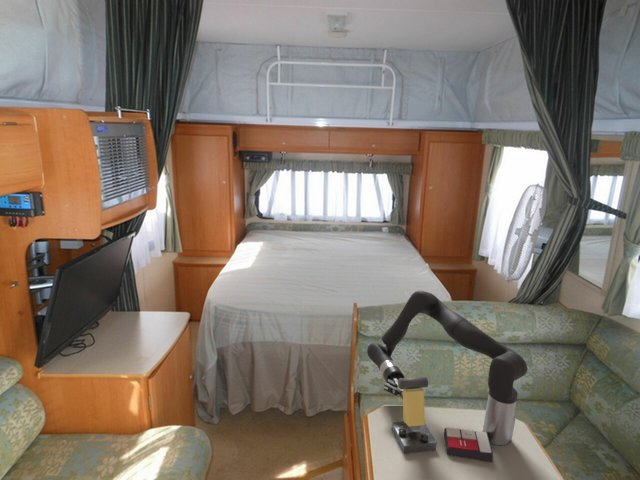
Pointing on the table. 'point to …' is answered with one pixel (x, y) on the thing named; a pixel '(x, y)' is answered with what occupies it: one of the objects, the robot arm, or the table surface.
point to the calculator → (468, 444)
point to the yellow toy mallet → (413, 401)
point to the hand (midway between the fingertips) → (407, 399)
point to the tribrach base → (413, 438)
